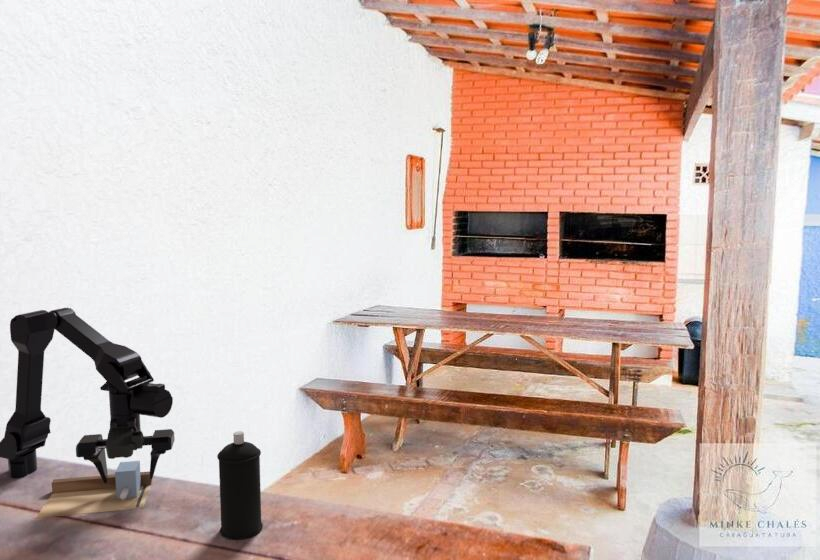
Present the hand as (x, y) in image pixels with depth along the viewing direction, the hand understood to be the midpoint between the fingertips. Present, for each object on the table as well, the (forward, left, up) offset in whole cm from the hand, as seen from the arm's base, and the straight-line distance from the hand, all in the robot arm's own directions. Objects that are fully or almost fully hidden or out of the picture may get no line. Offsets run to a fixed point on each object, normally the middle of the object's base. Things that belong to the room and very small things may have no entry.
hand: (128, 480), depth 139 cm
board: (+2, -6, -4) cm, 8 cm away
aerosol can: (+18, +24, -4) cm, 30 cm away
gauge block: (+2, 0, -3) cm, 3 cm away
